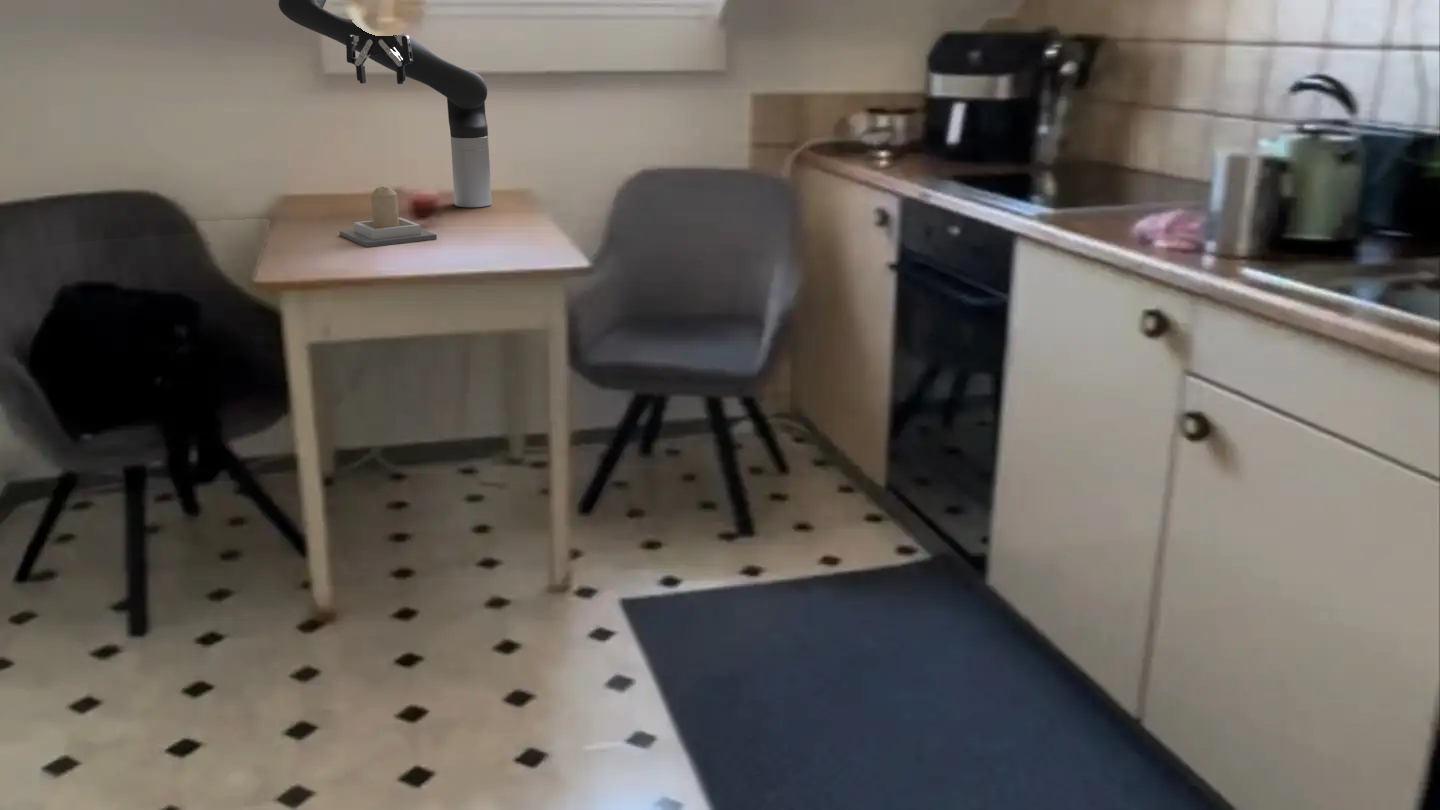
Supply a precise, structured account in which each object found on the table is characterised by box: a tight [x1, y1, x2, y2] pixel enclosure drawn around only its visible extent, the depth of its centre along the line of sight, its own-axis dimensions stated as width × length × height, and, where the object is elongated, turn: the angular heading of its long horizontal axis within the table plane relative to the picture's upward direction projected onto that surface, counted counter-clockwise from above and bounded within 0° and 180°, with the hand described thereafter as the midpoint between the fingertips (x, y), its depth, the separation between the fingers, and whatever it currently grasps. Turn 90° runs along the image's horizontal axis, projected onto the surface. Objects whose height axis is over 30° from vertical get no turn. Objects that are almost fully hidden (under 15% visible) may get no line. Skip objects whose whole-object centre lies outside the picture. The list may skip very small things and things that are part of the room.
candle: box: [370, 186, 400, 229], centre depth 273 cm, size 6×6×10 cm
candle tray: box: [339, 217, 438, 248], centre depth 275 cm, size 16×16×3 cm
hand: (381, 83), depth 277 cm, fingers open, 8 cm apart
